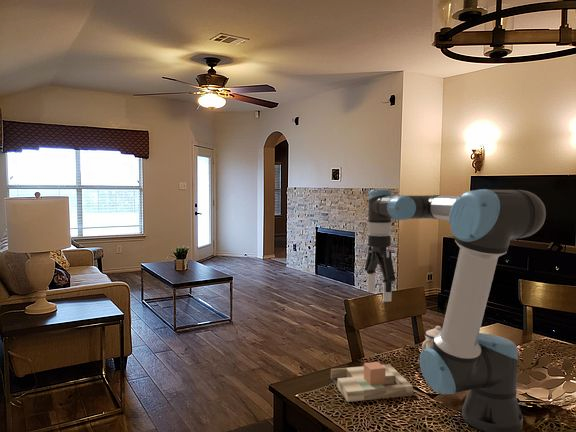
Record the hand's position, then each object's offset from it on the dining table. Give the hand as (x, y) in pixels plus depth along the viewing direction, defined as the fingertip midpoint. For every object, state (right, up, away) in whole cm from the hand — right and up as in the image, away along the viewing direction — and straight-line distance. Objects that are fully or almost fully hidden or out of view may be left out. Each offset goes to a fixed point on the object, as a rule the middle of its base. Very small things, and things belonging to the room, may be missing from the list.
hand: (378, 296), depth 151 cm
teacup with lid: (+24, -26, +15) cm, 38 cm away
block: (-4, -24, -12) cm, 28 cm away
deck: (-5, -27, -9) cm, 29 cm away
